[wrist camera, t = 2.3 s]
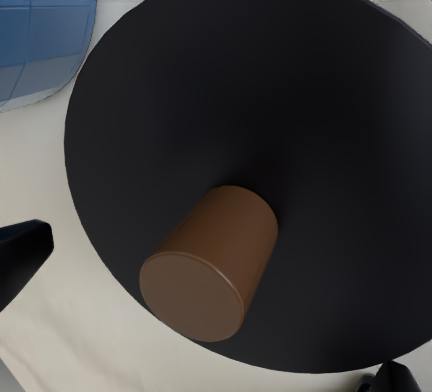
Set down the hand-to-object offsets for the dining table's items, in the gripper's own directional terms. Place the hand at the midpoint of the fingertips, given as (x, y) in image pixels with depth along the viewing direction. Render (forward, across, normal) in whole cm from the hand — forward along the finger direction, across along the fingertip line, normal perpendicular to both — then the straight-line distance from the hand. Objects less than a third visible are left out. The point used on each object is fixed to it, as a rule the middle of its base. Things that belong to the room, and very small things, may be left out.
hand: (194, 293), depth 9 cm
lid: (+4, 0, 0) cm, 4 cm away
